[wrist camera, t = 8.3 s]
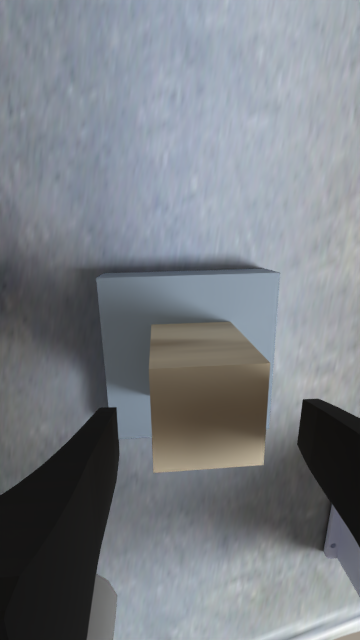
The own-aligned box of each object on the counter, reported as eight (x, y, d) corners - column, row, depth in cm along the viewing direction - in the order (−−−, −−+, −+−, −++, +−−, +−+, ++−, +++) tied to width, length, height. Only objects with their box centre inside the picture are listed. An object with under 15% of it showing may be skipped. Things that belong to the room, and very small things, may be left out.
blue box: (253, 403, 22) (269, 428, 19) (117, 412, 21) (111, 439, 18) (261, 267, 19) (279, 272, 16) (105, 272, 18) (95, 278, 15)
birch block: (228, 392, 18) (263, 464, 12) (154, 396, 17) (153, 472, 12) (230, 321, 17) (270, 363, 11) (151, 324, 16) (148, 368, 10)
